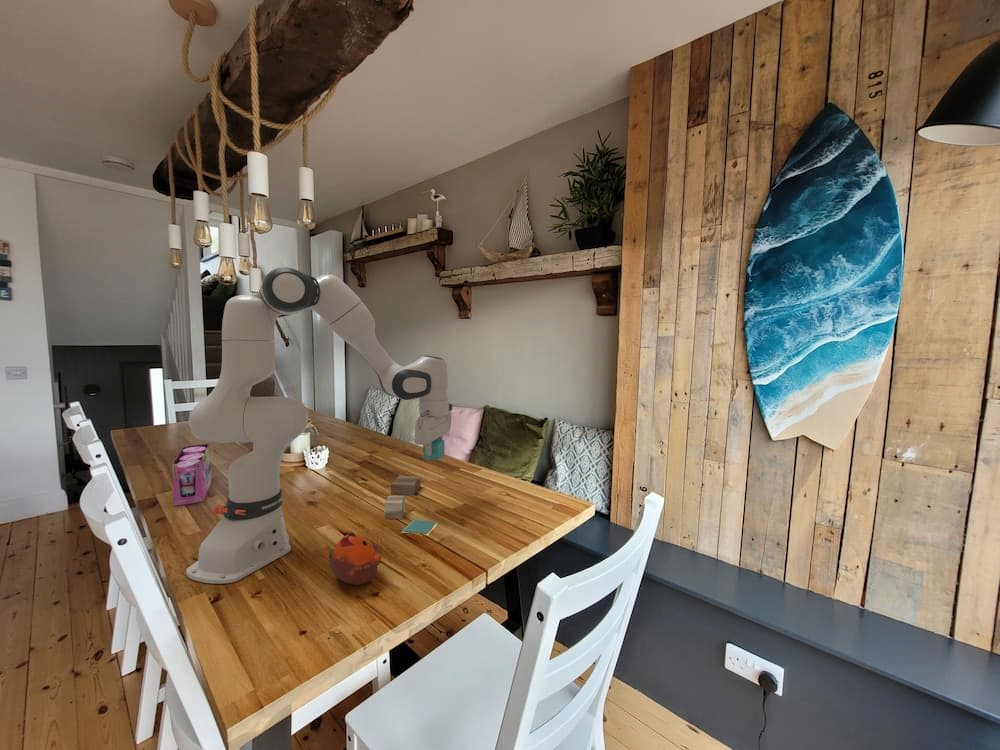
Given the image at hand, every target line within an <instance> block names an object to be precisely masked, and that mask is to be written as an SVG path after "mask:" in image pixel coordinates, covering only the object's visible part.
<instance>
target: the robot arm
mask: <svg viewBox="0 0 1000 750" xmlns="http://www.w3.org/2000/svg"><path fill="white" fill-rule="evenodd" d="M303 310H311V311H313V312H315V313H317V315H318V316H319V317H321V319H323V321H324V322H325V323H326V324H327V325H328V326H329V328H330V329H331V330H332V331H333V332H334V333H335V334H336V335H337V336H338V337H340V338H341V339H342V340H343V341H344V342H345V343H347V344H348V345H349V346H351V347H352V348H353V349H355V350H356V351H357V352H358V353H359V354H360V355H361V356H362V357H363V358H364V360H365V361H366V362H367V363H368V365H369V366H370V367H371V368H372V369H373V371H374V372H375V373H376V376H377V378H378V381H379V384H380V388H381V389H382V390H383V392H384V393H385V394H387V396H390V397H394V398H397V399H400V400H402V401H411V400H415V399H418V414H419V417H418V418H417V419H416V421H415V426H414V428H415V429H414V444H416V445H418V446H419V445H421V446H423V445H424V447H425V449H426V455H428V456H431V455H432V454H433V449H432V446H431V445H432V441H433V440H444V435H446V434H447V433H449V432H450V431H451V428H452V411H453V409H454V408H453V407H454V406H453V403H451V402H449V396H448V392H447V391H448V390H447V389H448V386H449V375H448V365H447V362H446V360H444V359H443V358H441V357H438V356H431V355H422V356H421V357H420V358H418V359H417V360H416V361H414V362H412V363H410V364H408V365H404V366H403V365H401V364H399V363H397V362H396V361H395V360H393V359H392V358H391V356H390V355H389V354H388V352H387V351H386V350H385V349H384V347H383V345H381V344H380V342H379V341H378V338H377V336H376V321H375V319H374V317H373V315H372V313H371V311H370V310H369V309H368V307H367V306H366V304H365V303H364V302H363V301H362V299H361V298H360V297H359V296H358V294H356V293H355V291H354V290H353V289H351V288H350V287H349V286H348V285H347V284H346V283H345V282H344V281H343V280H342V279H341V278H339V277H338V276H337V275H335V274H331V273H330V274H322V275H320V276H318V277H313V276H311V275H309V274H307V273H304V272H302V271H301V270H298V269H295V268H292V267H276V268H275V269H273V270H271V271H270V272H268V273H267V274H266V275H265V277H264V278H263V280H262V282H261V284H260V287H259V289H258V291H257V292H256V293H253V294H240V295H239V294H238V295H236V296H235V295H234V296H233V297H230V298H229V299H228V300H227V301H226V303H225V306H224V310H223V317H222V324H221V325H222V326H221V350H222V351H221V370H220V375H219V378H218V380H217V383H216V385H215V387H214V388H213V389H212V391H210V393H209V394H208V395H207V396H206V397H204V398H203V399H202V400H200V401H199V402H198V403H196V405H194V406H193V407H192V409H191V411H190V413H189V416H188V427H189V430H190V432H191V433H192V435H193V437H195V438H196V439H197V440H200V441H204V442H211V443H212V442H213V443H243V442H244V443H245V442H251V443H252V445H253V448H252V450H251V451H249V452H248V453H246V454H243V455H241V456H239V457H238V458H236V459H235V460H234V461H233V462H232V463H231V464H230V466H229V467H228V470H227V481H228V482H227V485H228V498H227V500H226V503H225V505H220V504H217V505H215V506H214V507H213V510H212V511H213V513H214V514H215V515H221V516H222V515H223V517H222V518H221V519H220V521H219V522H217V524H216V525H215V527H214V528H213V529H212V530H211V531H210V533H208V535H207V536H206V537H205V539H204V540H203V541H202V543H201V544H200V546H199V549H198V559H197V560H196V561H195V562H194V563H193V564H191V565H189V567H187V568H186V570H185V573H186V577H187V578H189V579H190V580H192V581H195V582H199V583H204V584H205V583H206V584H212V585H213V584H216V585H217V584H218V585H221V584H229V583H235V582H237V581H240V580H242V579H243V578H246V577H247V576H249V575H250V574H252V573H254V572H256V571H258V570H260V569H261V568H263V567H265V566H267V565H269V564H270V563H272V562H274V561H276V560H277V559H279V558H281V557H283V556H284V555H286V554H288V553H290V552H291V551H292V547H291V543H290V537H289V535H288V532H287V528H286V521H285V517H284V514H283V511H282V505H283V503H284V502H283V496H284V495H283V491H282V489H281V488H280V484H281V482H280V481H281V480H280V479H281V478H280V477H281V476H280V475H281V474H280V473H281V471H280V470H281V462H282V458H283V455H284V452H286V449H287V448H288V447H289V445H290V444H291V443H292V442H293V441H295V440H296V439H297V438H298V437H299V436H300V435H302V434H303V433H304V431H305V429H306V428H307V426H308V424H309V423H308V422H309V412H308V407H306V405H305V403H303V401H302V400H300V399H298V398H292V397H286V396H251V391H252V388H253V386H254V385H257V384H259V383H261V382H263V381H265V380H267V379H269V378H271V376H272V375H273V374H274V372H275V370H276V348H275V347H276V344H275V343H276V342H275V326H276V325H275V324H276V321H277V319H279V318H283V317H288V316H292V315H296V314H298V313H300V312H302V311H303Z"/></svg>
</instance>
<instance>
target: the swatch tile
mask: <svg viewBox="0 0 1000 750" xmlns="http://www.w3.org/2000/svg"><path fill="white" fill-rule="evenodd" d="M413 519H414V520H412V521H410V523H408V525H407V526H406V527H404V529H403V530H402V531H401V534H402V533H409V532H411V533H422V534H423V533H424V534H427V533H428V532H429V531H430V530H431V529H432V528H433V526H434V525H435V524H436V523H437V522H438V521H432V520H431V521H430V520H422V519H415V518H413Z"/></svg>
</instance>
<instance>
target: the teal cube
mask: <svg viewBox="0 0 1000 750" xmlns="http://www.w3.org/2000/svg"><path fill="white" fill-rule="evenodd" d="M431 446H432V449H433V454H432V455H431V456H428V455H426V449H425V447H424V445H422V459H423V460H430V461H439V460H441V459H442V458H443V457H445V454H446V453H445V439H443V440H436V439H435V440H433V441H432V445H431Z"/></svg>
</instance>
